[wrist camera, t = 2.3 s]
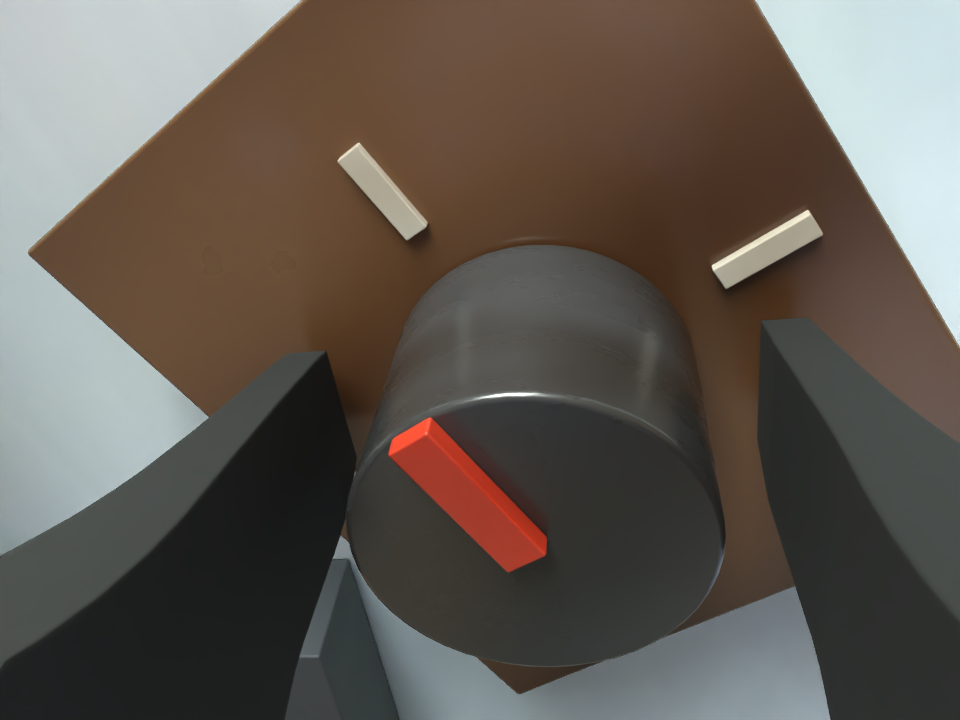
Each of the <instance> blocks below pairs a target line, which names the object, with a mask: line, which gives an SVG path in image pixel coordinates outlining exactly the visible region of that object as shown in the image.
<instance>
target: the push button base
mask: <svg viewBox="0 0 960 720" xmlns="http://www.w3.org/2000/svg"><path fill="white" fill-rule="evenodd" d="M285 720H399V717H398V713H397V710H396V707H395V704H394V701H393V698H392V695H391V691H390V688H389V685H388V682H387V679H386V676H385V673H384V669H383V666H382V663H381V660H380V657H379V654H378V651H377V647H376V644H375V641H374V638H373V635H372V632H371V629H370V625H369V622H368V619H367V616H366V613H365V610H364V607H363V603H362V600H361V597H360V594H359V591H358V588H357V585H356V581H355V578H354V575H353V572H352V569H351V566H350V563H349V560H347V559H342V560H332V562H331V565H330V567H329V570H328V573H327V576H326V579H325V582H324V585H323V588H322V591H321V594H320V597H319V599H318V602H317V605H316V608H315V611H314V614H313V617H312V620H311V623H310V626H309V629H308V631H307V634H306V637H305V640H304V643H303V647H302V650H301V653H300V657H299V660H298V664H297V667H296V671H295V675H294V679H293V684H292V688H291V693H290V697H289V702H288V706H287V711H286V715H285Z"/></svg>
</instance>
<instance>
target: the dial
mask: <svg viewBox="0 0 960 720" xmlns="http://www.w3.org/2000/svg"><path fill="white" fill-rule="evenodd" d="M346 527H347V535H348V539H349V544H350V548H351V552H352V555H353V557H354V560H355V562H356V565H357V567H358V569H359V571H360V573H361V575H362V576H363V578H364V580H365V581H366V583H367V585H368V586H369V587H370V588H371V590H372V591H373V592H374V594H375V595H376V596H377V597H378V599H379V600H380V601H381V602H382V603H383V604H384V605H385V606H386V607H387V608H388V609H389V610H390V611H391V612H392V613H394V614H395V615H396V616H397V617H399V618H400V619H401V620H403V621H404V622H405V623H406V624H408V625H409V626H411V627H412V628H414V629H415V630H417V631H419V632H420V633H422V634H423V635H425V636H427V637H429V638H431V639H433V640H435V641H437V642H439V643H441V644H443V645H445V646H447V647H450V648H452V649H455V650H457V651H460V652H462V653H465V654H469V655H472V656H475V657H479V658H482V659H486V660H491V661H496V662H501V663H505V664H513V665H522V666H534V667H562V666H576V665H583V664H590V663H596V662H600V661H605V660H609V659H613V658H617V657H620V656H623V655H626V654H629V653H632V652H635V651H637V650H639V649H641V648H643V647H646V646H648V645H650V644H652V643H654V642H656V641H657V640H659V639H661V638H663V637H664V636H666V635H668V634H669V633H671V632H672V631H673V630H675V629H676V628H677V627H678V626H680V625H681V624H682V623H684V622H685V621H686V620H687V619H688V618H689V617H690V616H691V615H692V614H693V613H694V612H695V611H696V610H697V609H698V608H699V606H700V605H701V604H702V602H703V601H704V599H705V598H706V597H707V595H708V594H709V593H710V591H711V589H712V587H713V584H714V582H715V580H716V578H717V576H718V574H719V571H720V568H721V565H722V561H723V558H724V553H725V543H726V530H725V518H724V513H723V507H722V502H721V496H720V491H719V485H718V479H717V474H716V468H715V463H714V457H713V452H712V446H711V440H710V435H709V429H708V424H707V418H706V413H705V407H704V401H703V396H702V390H701V385H700V379H699V374H698V368H697V362H696V357H695V352H694V348H693V345H692V341H691V337H690V335H689V333H688V330H687V328H686V326H685V324H684V321H683V320H682V318H681V317H680V315H679V313H678V312H677V310H676V309H675V307H674V306H673V304H672V303H671V302H670V301H669V300H668V299H667V298H666V296H665V295H664V294H663V293H662V292H661V291H660V290H659V289H658V288H657V287H655V286H654V285H653V284H652V283H651V282H650V281H648V280H647V279H646V278H645V277H643V276H642V275H640V274H639V273H637V272H635V271H634V270H632V269H631V268H629V267H628V266H626V265H623V264H621V263H619V262H617V261H615V260H613V259H611V258H609V257H606V256H603V255H600V254H597V253H594V252H591V251H588V250H583V249H578V248H574V247H568V246H558V245H525V246H518V247H511V248H505V249H502V250H498V251H494V252H491V253H487V254H484V255H482V256H480V257H477V258H475V259H472V260H470V261H467V262H465V263H464V264H462V265H460V266H459V267H457V268H455V269H453V270H452V271H450V272H448V273H447V274H446V275H445V276H443V277H442V278H441V279H439V280H438V281H437V282H435V283H434V284H433V285H432V286H431V287H430V288H429V289H428V291H427V292H426V293H425V294H424V295H423V296H422V297H421V298H420V300H419V301H418V302H417V304H416V305H415V307H414V308H413V309H412V311H411V313H410V315H409V317H408V319H407V321H406V323H405V325H404V327H403V330H402V333H401V336H400V339H399V343H398V346H397V349H396V352H395V355H394V358H393V361H392V364H391V367H390V370H389V373H388V376H387V379H386V382H385V385H384V388H383V391H382V394H381V397H380V400H379V403H378V406H377V410H376V413H375V416H374V419H373V422H372V425H371V428H370V431H369V434H368V437H367V440H366V443H365V446H364V449H363V452H362V455H361V458H360V461H359V464H358V467H357V470H356V473H355V477H354V480H353V483H352V486H351V489H350V492H349V495H348V501H347V509H346Z"/></svg>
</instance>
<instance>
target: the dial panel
mask: <svg viewBox="0 0 960 720" xmlns="http://www.w3.org/2000/svg"><path fill="white" fill-rule="evenodd" d="M525 245H558V246H568V247H574V248H578V249H583V250H588V251H591V252H594V253H597V254H600V255H603V256H606V257H609V258H611V259H613V260H615V261H617V262H619V263H621V264H623V265H626V266H628V267H629V268H631V269H632V270H634V271H635V272H637V273H639V274H640V275H642V276H643V277H645V278H646V279H647V280H648V281H650V282H651V283H652V284H653V285H654V286H655V287H657V288H658V289H659V290H660V291H661V292H662V293H663V294H664V295H665V296H666V298H667V299H668V300H669V301H670V302H671V303H672V304H673V306H674V307H675V309H676V310H677V312H678V313H679V315H680V317H681V318H682V320H683V321H684V324H685V326H686V328H687V330H688V333H689V335H690V337H691V341H692V345H693V348H694V352H695V357H696V362H697V368H698V374H699V379H700V385H701V390H702V396H703V401H704V407H705V413H706V418H707V424H708V429H709V435H710V440H711V446H712V452H713V457H714V463H715V468H716V474H717V479H718V485H719V491H720V496H721V502H722V507H723V513H724V518H725V530H726V543H725V553H724V558H723V561H722V565H721V568H720V571H719V574H718V576H717V578H716V580H715V582H714V584H713V587H712V589H711V591H710V593H709V594H708V595H707V597H706V598H705V599H704V601H703V602H702V604H701V605H700V606H699V608H698V609H697V610H696V611H695V612H694V613H693V614H692V615H691V616H690V617H689V618H688V619H687V620H686V621H685V622H684V623H682V624H681V625H680V626H678V627H677V628H676V629H675V630H673V631H672V632H671V633H669V634H668V635H666V636H669V635H672V634H674V633H677V632H679V631H682V630H684V629H687V628H689V627H692V626H694V625H697V624H700V623H702V622H705V621H707V620H710V619H712V618H715V617H717V616H720V615H722V614H725V613H727V612H730V611H733V610H735V609H738V608H740V607H743V606H745V605H748V604H750V603H753V602H755V601H758V600H761V599H763V598H766V597H768V596H771V595H773V594H776V593H778V592H781V591H783V590H786V589H789V588H791V587H794V586H795V584H794V580H793V577H792V574H791V571H790V568H789V565H788V562H787V559H786V556H785V553H784V549H783V546H782V543H781V540H780V537H779V534H778V530H777V527H776V524H775V521H774V518H773V515H772V511H771V508H770V505H769V502H768V497H767V492H766V486H765V481H764V476H763V470H762V464H761V458H760V453H759V447H758V441H757V427H758V396H759V365H760V333H761V321H764V320H778V319H793V318H807V317H808V318H809V319H810V320H811V321H812V322H813V323H815V324H816V325H817V326H818V327H819V328H820V329H821V330H822V331H823V332H825V333H826V334H827V335H828V336H829V337H830V338H831V339H832V340H833V341H834V342H835V343H836V344H837V345H839V346H840V347H841V348H842V349H843V350H844V351H845V352H846V353H847V354H848V355H849V356H850V357H852V358H853V359H854V360H855V361H856V362H857V363H858V364H859V365H860V366H861V367H863V368H864V369H865V370H866V371H867V372H868V373H869V374H870V375H872V376H873V377H874V378H875V379H876V380H877V381H879V382H880V383H881V384H882V385H883V386H885V387H886V388H887V389H888V390H889V391H891V392H892V393H893V394H894V395H895V396H897V397H898V398H899V399H900V400H901V401H903V402H904V403H905V404H907V405H908V406H909V407H910V408H912V409H913V410H914V411H916V412H917V413H918V414H920V415H921V416H922V417H924V418H925V419H926V420H928V421H929V422H931V423H932V424H933V425H935V426H936V427H937V428H939V429H940V430H942V431H943V432H944V433H946V434H947V435H949V436H950V437H951V438H953V439H954V440H956V441H957V442H959V443H960V347H959V345H958V343H957V342H956V340H955V338H954V336H953V335H952V333H951V331H950V330H949V328H948V326H947V325H946V323H945V321H944V319H943V318H942V316H941V314H940V313H939V311H938V309H937V308H936V306H935V304H934V303H933V301H932V299H931V297H930V296H929V294H928V292H927V291H926V289H925V287H924V286H923V284H922V282H921V281H920V279H919V277H918V275H917V274H916V272H915V270H914V269H913V267H912V265H911V264H910V262H909V260H908V259H907V257H906V255H905V253H904V252H903V250H902V248H901V247H900V245H899V243H898V242H897V240H896V238H895V236H894V235H893V233H892V231H891V230H890V228H889V226H888V225H887V223H886V221H885V220H884V218H883V216H882V214H881V213H880V211H879V209H878V208H877V206H876V204H875V203H874V201H873V199H872V198H871V196H870V194H869V192H868V191H867V189H866V187H865V186H864V184H863V182H862V181H861V179H860V177H859V175H858V174H857V172H856V170H855V169H854V167H853V165H852V164H851V162H850V160H849V159H848V157H847V155H846V153H845V152H844V150H843V148H842V147H841V145H840V143H839V142H838V140H837V138H836V137H835V135H834V133H833V131H832V130H831V128H830V126H829V125H828V123H827V121H826V120H825V118H824V116H823V114H822V113H821V111H820V109H819V108H818V106H817V104H816V103H815V101H814V99H813V98H812V96H811V94H810V92H809V91H808V89H807V87H806V86H805V84H804V82H803V81H802V79H801V77H800V76H799V74H798V72H797V70H796V69H795V67H794V65H793V64H792V62H791V60H790V59H789V57H788V55H787V53H786V52H785V50H784V48H783V47H782V45H781V43H780V42H779V40H778V38H777V37H776V35H775V33H774V31H773V30H772V28H771V26H770V25H769V23H768V21H767V20H766V18H765V16H764V15H763V13H762V11H761V9H760V8H759V6H758V4H757V3H756V1H755V0H301V1H300V2H299V3H298V4H297V5H296V6H294V7H293V8H292V9H291V10H290V11H289V12H288V13H287V14H286V15H285V16H283V17H282V18H281V19H280V20H279V21H278V22H277V23H276V24H275V25H274V26H273V27H271V28H270V29H269V30H268V31H267V32H266V33H265V34H264V35H263V36H262V37H261V38H259V39H258V40H257V41H256V42H255V43H254V44H253V45H252V46H251V47H250V48H249V49H247V50H246V51H245V52H244V53H243V54H242V55H241V56H240V57H239V58H238V59H237V60H235V61H234V62H233V63H232V64H231V65H230V66H229V67H228V68H227V69H226V70H224V71H223V72H222V73H221V74H220V75H219V76H218V77H217V78H216V79H215V80H214V81H212V82H211V83H210V84H209V85H208V86H207V87H206V88H205V89H204V90H203V91H202V92H200V93H199V94H198V95H197V96H196V97H195V98H194V99H193V100H192V101H191V102H190V103H188V104H187V105H186V106H185V107H184V108H183V109H182V110H181V111H180V112H179V113H177V114H176V115H175V116H174V117H173V118H172V119H171V120H170V121H169V122H168V123H167V124H165V125H164V126H163V127H162V128H161V129H160V130H159V131H158V132H157V133H156V134H155V135H153V136H152V137H151V138H150V139H149V140H148V141H147V142H146V143H145V144H144V145H143V146H141V147H140V148H139V149H138V150H137V151H136V152H135V153H134V154H133V155H132V156H130V157H129V158H128V159H127V160H126V161H125V162H124V163H123V164H122V165H121V166H120V167H118V168H117V169H116V170H115V171H114V172H113V173H112V174H111V175H110V176H109V177H108V178H106V179H105V180H104V181H103V182H102V183H101V184H100V185H99V186H98V187H97V188H96V189H94V190H93V191H92V192H91V193H90V194H89V195H88V196H87V197H86V198H85V199H84V200H82V201H81V202H80V203H79V204H78V205H77V206H76V207H75V208H74V209H73V210H71V211H70V212H69V213H68V214H67V215H66V216H65V217H64V218H63V219H62V220H61V221H59V222H58V223H57V224H56V225H55V226H54V227H53V228H52V229H51V230H50V231H49V232H47V233H46V234H45V235H44V236H43V237H42V238H41V239H40V240H39V241H38V242H37V243H35V244H34V245H33V246H32V247H31V248H30V249H29V251H28V254H29V256H30V257H32V258H33V259H34V260H35V261H36V262H37V263H38V264H39V265H40V266H42V267H43V268H44V269H45V270H46V271H47V272H48V273H49V274H50V275H52V276H53V277H54V278H55V279H56V280H57V281H58V282H59V283H61V284H62V285H63V286H64V287H65V288H66V289H67V290H68V291H69V292H71V293H72V294H73V295H74V296H75V297H76V298H77V299H78V300H79V301H81V302H82V303H83V304H84V305H85V306H86V307H87V308H88V309H89V310H91V311H92V312H93V313H94V314H95V315H96V316H97V317H98V318H99V319H101V320H102V321H103V322H104V323H105V324H106V325H107V326H108V327H109V328H111V329H112V330H113V331H114V332H115V333H116V334H117V335H118V336H120V337H121V338H122V339H123V340H124V341H125V342H126V343H127V344H128V345H130V346H131V347H132V348H133V349H134V350H135V351H136V352H137V353H138V354H140V355H141V356H142V357H143V358H144V359H145V360H146V361H147V362H148V363H150V364H151V365H152V366H153V367H154V368H155V369H156V370H157V371H158V372H160V373H161V374H162V375H163V376H164V377H165V378H166V379H167V380H169V381H170V382H171V383H172V384H173V385H174V386H175V387H176V388H177V389H179V390H180V391H181V392H182V393H183V394H184V395H185V396H186V397H187V398H189V399H190V400H191V401H192V402H193V403H194V404H195V405H196V406H197V407H199V408H200V409H201V410H202V411H203V412H204V413H205V414H206V415H207V416H209V417H211V416H212V415H213V414H214V413H215V412H216V411H218V410H219V409H220V408H221V407H222V406H224V405H225V404H226V403H227V402H228V401H230V400H231V399H232V398H233V397H234V396H235V395H237V394H238V393H239V392H240V391H241V390H242V389H244V388H245V387H246V386H247V385H248V384H249V383H251V382H252V381H253V380H254V379H255V378H257V377H258V376H259V375H260V374H261V373H263V372H264V371H265V370H266V369H267V368H269V367H270V366H271V365H272V364H274V363H275V362H276V361H278V360H279V359H280V358H282V357H283V356H285V355H286V354H287V353H300V352H315V351H327V354H328V358H329V361H330V365H331V368H332V372H333V375H334V379H335V382H336V386H337V389H338V393H339V396H340V400H341V403H342V407H343V410H344V414H345V417H346V421H347V424H348V428H349V431H350V435H351V438H352V442H353V445H354V449H355V452H356V456H357V462H356V468H355V473H356V470H357V467H358V464H359V461H360V458H361V455H362V452H363V449H364V446H365V443H366V440H367V437H368V434H369V431H370V428H371V425H372V422H373V419H374V416H375V413H376V410H377V406H378V403H379V400H380V397H381V394H382V391H383V388H384V385H385V382H386V379H387V376H388V373H389V370H390V367H391V364H392V361H393V358H394V355H395V352H396V349H397V346H398V343H399V339H400V336H401V333H402V330H403V327H404V325H405V323H406V321H407V319H408V317H409V315H410V313H411V311H412V309H413V308H414V307H415V305H416V304H417V302H418V301H419V300H420V298H421V297H422V296H423V295H424V294H425V293H426V292H427V291H428V289H429V288H430V287H431V286H432V285H433V284H434V283H435V282H437V281H438V280H439V279H441V278H442V277H443V276H445V275H446V274H447V273H448V272H450V271H452V270H453V269H455V268H457V267H459V266H460V265H462V264H464V263H465V262H467V261H470V260H472V259H475V258H477V257H480V256H482V255H484V254H487V253H491V252H494V251H498V250H502V249H505V248H511V247H518V246H525ZM354 477H355V474H354ZM353 480H354V479H353ZM341 536H342V537H343V538H344V539H346V540H347V541H348V542H349V539H348V535H347V527H346V519H345V522H344V525H343V529H342V532H341ZM666 636H664V637H666ZM664 637H663V638H664ZM477 658H478V659H479V660H480V661H481V662H483V663H484V664H485V665H486V666H487V667H488V668H489V669H490V670H491V671H493V672H494V673H495V674H496V675H497V676H498V677H499V678H500V679H501V680H503V681H504V682H505V683H506V684H507V685H508V686H509V687H510V688H511V689H513V690H514V691H515V692H516V693H517V694H521V693H524V692H527V691H529V690H532V689H534V688H537V687H539V686H542V685H544V684H547V683H549V682H552V681H555V680H557V679H560V678H562V677H565V676H567V675H570V674H572V673H575V672H577V671H580V670H583V669H585V668H588V667H590V666H593V665H595V664H598V663H600V662H603V661H600V662H596V663H590V664H583V665H576V666H562V667H534V666H522V665H513V664H505V663H501V662H496V661H491V660H486V659H482V658H479V657H477Z"/></svg>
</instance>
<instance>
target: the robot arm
mask: <svg viewBox="0 0 960 720" xmlns="http://www.w3.org/2000/svg"><path fill="white" fill-rule="evenodd" d="M757 441H758V447H759V453H760V458H761V464H762V470H763V476H764V481H765V486H766V492H767V497H768V502H769V505H770V508H771V511H772V515H773V518H774V521H775V524H776V527H777V530H778V534H779V537H780V540H781V543H782V546H783V549H784V553H785V556H786V559H787V562H788V565H789V568H790V571H791V574H792V577H793V580H794V584H795V587H796V590H797V593H798V596H799V599H800V602H801V605H802V608H803V612H804V615H805V618H806V621H807V624H808V627H809V630H810V633H811V636H812V640H813V644H814V648H815V651H816V655H817V659H818V662H819V666H820V670H821V675H822V680H823V685H824V690H825V695H826V699H827V704H828V709H829V714H830V719H831V720H960V443H959V442H957V441H956V440H954V439H953V438H951V437H950V436H949V435H947V434H946V433H944V432H943V431H942V430H940V429H939V428H937V427H936V426H935V425H933V424H932V423H931V422H929V421H928V420H926V419H925V418H924V417H922V416H921V415H920V414H918V413H917V412H916V411H914V410H913V409H912V408H910V407H909V406H908V405H907V404H905V403H904V402H903V401H901V400H900V399H899V398H898V397H897V396H895V395H894V394H893V393H892V392H891V391H889V390H888V389H887V388H886V387H885V386H883V385H882V384H881V383H880V382H879V381H877V380H876V379H875V378H874V377H873V376H872V375H870V374H869V373H868V372H867V371H866V370H865V369H864V368H863V367H861V366H860V365H859V364H858V363H857V362H856V361H855V360H854V359H853V358H852V357H850V356H849V355H848V354H847V353H846V352H845V351H844V350H843V349H842V348H841V347H840V346H839V345H837V344H836V343H835V342H834V341H833V340H832V339H831V338H830V337H829V336H828V335H827V334H826V333H825V332H823V331H822V330H821V329H820V328H819V327H818V326H817V325H816V324H815V323H813V322H812V321H811V320H810V319H809V318H808V317H807V318H793V319H778V320H764V321H761V333H760V365H759V396H758V427H757ZM356 462H357V456H356V452H355V449H354V445H353V442H352V438H351V435H350V431H349V428H348V424H347V421H346V417H345V414H344V410H343V407H342V403H341V400H340V396H339V393H338V389H337V386H336V382H335V379H334V375H333V372H332V368H331V365H330V361H329V358H328V354H327V351H315V352H300V353H287V354H286V355H285V356H283V357H282V358H280V359H279V360H278V361H276V362H275V363H274V364H272V365H271V366H270V367H269V368H267V369H266V370H265V371H264V372H263V373H261V374H260V375H259V376H258V377H257V378H255V379H254V380H253V381H252V382H251V383H249V384H248V385H247V386H246V387H245V388H244V389H242V390H241V391H240V392H239V393H238V394H237V395H235V396H234V397H233V398H232V399H231V400H230V401H228V402H227V403H226V404H225V405H224V406H222V407H221V408H220V409H219V410H218V411H216V412H215V413H214V414H213V415H212V416H211V417H209V418H208V419H207V420H206V421H205V422H203V423H202V424H201V425H200V426H199V427H197V428H196V429H195V430H194V431H192V432H191V433H190V434H189V435H187V436H186V437H185V438H183V439H182V440H181V441H180V442H178V443H177V444H176V445H174V446H173V447H172V448H170V449H169V450H168V451H167V452H165V453H164V454H163V455H161V456H160V457H159V458H158V459H156V460H155V461H154V462H152V463H151V464H150V465H148V466H147V467H146V468H145V469H143V470H142V471H140V472H139V473H138V474H136V475H135V476H133V477H132V478H131V479H129V480H128V481H126V482H125V483H123V484H122V485H120V486H119V487H118V488H116V489H115V490H113V491H112V492H110V493H108V494H107V495H105V496H104V497H102V498H101V499H99V500H98V501H96V502H94V503H93V504H91V505H90V506H88V507H87V508H85V509H84V510H82V511H80V512H79V513H77V514H75V515H74V516H72V517H70V518H69V519H67V520H65V521H63V522H61V523H60V524H58V525H56V526H54V527H52V528H51V529H49V530H47V531H45V532H43V533H42V534H40V535H38V536H36V537H34V538H33V539H31V540H29V541H27V542H25V543H24V544H22V545H20V546H18V547H16V548H14V549H13V550H11V551H9V552H7V553H5V554H3V555H1V556H0V720H285V715H286V711H287V706H288V702H289V697H290V693H291V688H292V684H293V679H294V675H295V671H296V667H297V664H298V660H299V657H300V653H301V650H302V647H303V643H304V640H305V637H306V634H307V631H308V629H309V626H310V623H311V620H312V617H313V614H314V611H315V608H316V605H317V602H318V599H319V597H320V594H321V591H322V588H323V585H324V582H325V579H326V576H327V573H328V570H329V567H330V565H331V562H332V559H333V556H334V553H335V550H336V547H337V544H338V541H339V538H340V535H341V532H342V529H343V525H344V522H345V519H346V509H347V501H348V495H349V492H350V489H351V486H352V483H353V479H354V474H355V468H356Z"/></svg>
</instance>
